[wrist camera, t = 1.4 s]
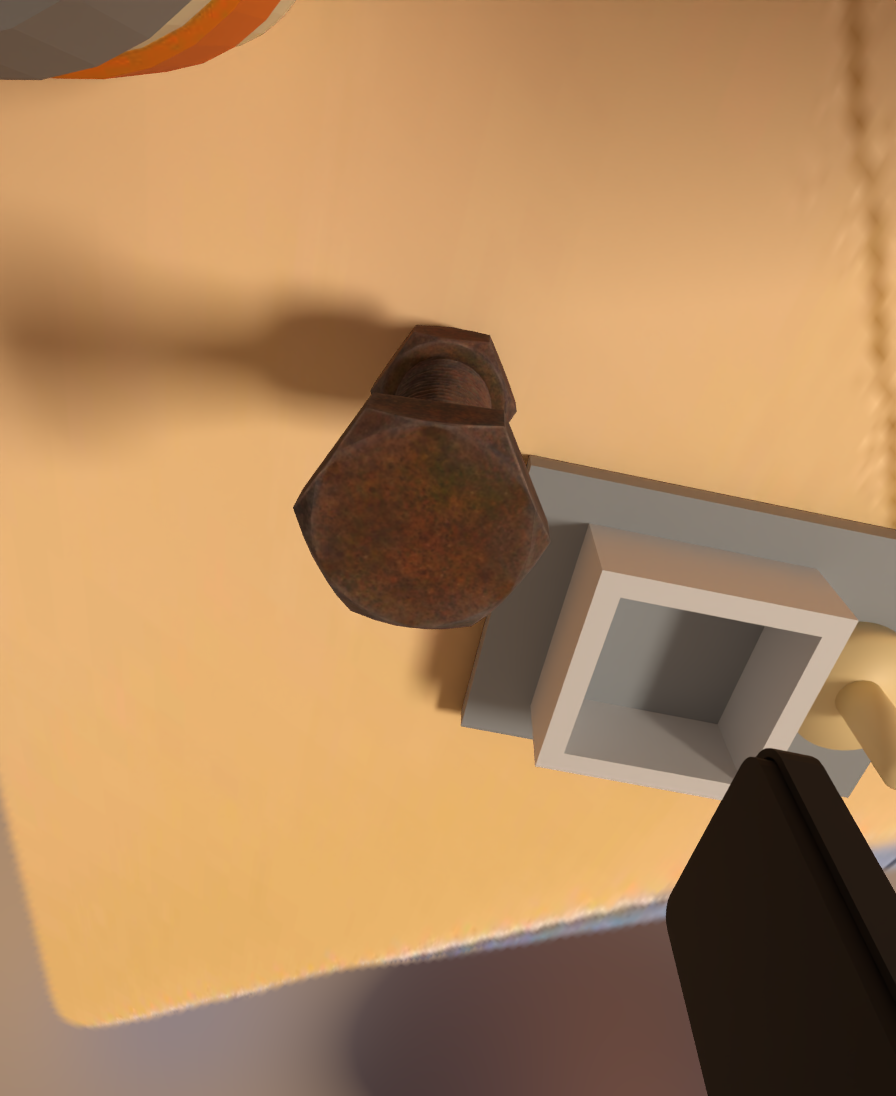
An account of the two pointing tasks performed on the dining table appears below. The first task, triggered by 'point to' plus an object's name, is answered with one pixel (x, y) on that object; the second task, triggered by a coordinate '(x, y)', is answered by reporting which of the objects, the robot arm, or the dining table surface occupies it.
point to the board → (691, 637)
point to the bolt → (427, 490)
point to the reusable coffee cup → (124, 35)
